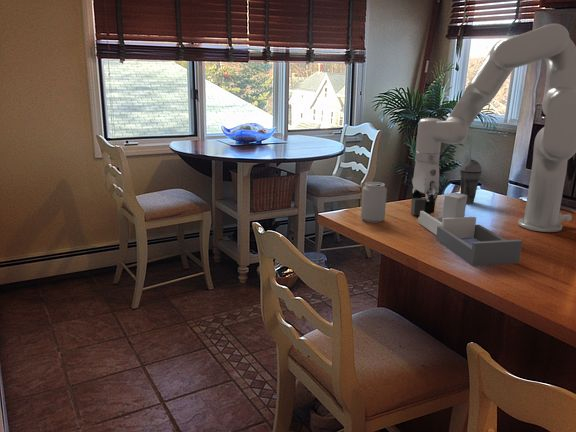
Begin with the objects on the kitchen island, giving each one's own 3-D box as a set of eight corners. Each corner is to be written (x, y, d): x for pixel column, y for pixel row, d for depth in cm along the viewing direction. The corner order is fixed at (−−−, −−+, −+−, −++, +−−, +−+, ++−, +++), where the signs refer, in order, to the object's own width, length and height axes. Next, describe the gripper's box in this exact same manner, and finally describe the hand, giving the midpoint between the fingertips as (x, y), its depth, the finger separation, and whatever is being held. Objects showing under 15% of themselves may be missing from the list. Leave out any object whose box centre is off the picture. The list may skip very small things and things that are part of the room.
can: (384, 224, 165) (386, 186, 162) (360, 222, 166) (362, 185, 163) (384, 217, 172) (387, 181, 169) (361, 215, 174) (363, 180, 170)
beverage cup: (480, 205, 189) (487, 149, 183) (459, 204, 189) (466, 149, 183) (473, 199, 196) (480, 146, 190) (454, 199, 196) (460, 145, 190)
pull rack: (433, 212, 178) (434, 195, 176) (473, 237, 153) (476, 217, 152) (405, 213, 176) (406, 196, 174) (441, 239, 152) (444, 219, 150)
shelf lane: (477, 237, 154) (480, 217, 153) (519, 263, 136) (522, 240, 134) (435, 239, 152) (438, 219, 150) (472, 265, 133) (475, 243, 131)
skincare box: (453, 238, 154) (457, 198, 150) (439, 234, 156) (444, 195, 153) (463, 233, 158) (467, 194, 154) (450, 230, 161) (454, 191, 157)
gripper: (451, 162, 162) (445, 215, 167) (426, 152, 178) (421, 201, 183) (428, 162, 161) (423, 216, 166) (405, 152, 177) (401, 202, 182)
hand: (422, 208), depth 174 cm, fingers open, 9 cm apart
